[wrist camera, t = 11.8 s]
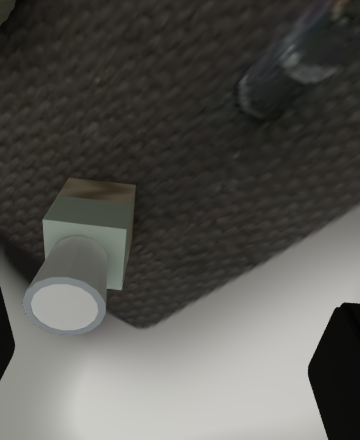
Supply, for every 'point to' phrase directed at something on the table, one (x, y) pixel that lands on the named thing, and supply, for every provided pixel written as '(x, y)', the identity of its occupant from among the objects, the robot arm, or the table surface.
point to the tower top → (92, 230)
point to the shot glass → (69, 288)
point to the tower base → (102, 194)
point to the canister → (6, 9)
